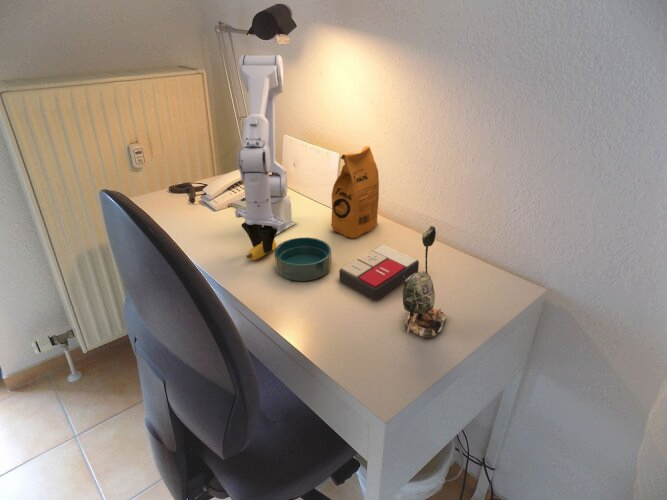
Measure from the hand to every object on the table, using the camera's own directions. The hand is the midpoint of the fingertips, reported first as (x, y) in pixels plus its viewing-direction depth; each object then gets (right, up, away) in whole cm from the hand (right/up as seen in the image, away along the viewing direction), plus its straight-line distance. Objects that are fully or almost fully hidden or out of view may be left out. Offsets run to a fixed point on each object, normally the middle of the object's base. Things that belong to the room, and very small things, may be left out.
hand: (262, 249), depth 107 cm
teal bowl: (+10, -4, -5) cm, 12 cm away
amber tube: (0, -1, +1) cm, 1 cm away
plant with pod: (+34, -15, -23) cm, 44 cm away
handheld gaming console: (-6, +15, +30) cm, 34 cm away
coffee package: (+23, +6, +13) cm, 27 cm away
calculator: (+28, -7, -9) cm, 30 cm away
